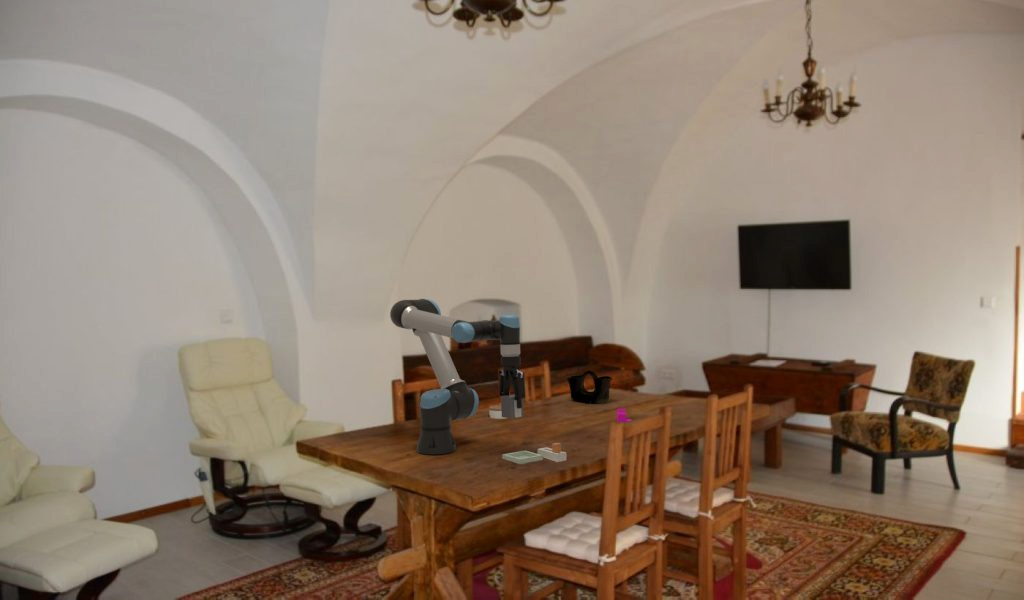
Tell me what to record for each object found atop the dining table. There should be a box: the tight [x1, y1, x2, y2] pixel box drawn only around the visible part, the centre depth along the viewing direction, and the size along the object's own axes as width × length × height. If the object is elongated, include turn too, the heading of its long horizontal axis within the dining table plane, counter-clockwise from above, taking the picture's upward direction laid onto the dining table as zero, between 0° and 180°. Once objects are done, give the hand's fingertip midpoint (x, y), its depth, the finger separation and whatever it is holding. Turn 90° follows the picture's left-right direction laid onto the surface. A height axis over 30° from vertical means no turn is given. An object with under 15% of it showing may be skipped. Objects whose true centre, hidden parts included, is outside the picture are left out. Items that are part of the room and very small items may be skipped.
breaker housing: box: [536, 447, 567, 463], centre depth 293 cm, size 4×12×3 cm, turn 36°
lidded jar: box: [488, 402, 507, 420], centre depth 369 cm, size 11×11×9 cm
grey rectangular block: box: [500, 393, 525, 420], centre depth 298 cm, size 6×6×8 cm
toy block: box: [616, 408, 633, 422], centre depth 353 cm, size 15×6×8 cm, turn 173°
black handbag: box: [566, 370, 613, 405], centre depth 405 cm, size 25×11×20 cm, turn 59°
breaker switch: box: [551, 442, 562, 453], centre depth 290 cm, size 2×2×3 cm
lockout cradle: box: [501, 450, 544, 466], centre depth 291 cm, size 11×11×2 cm
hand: (512, 415), depth 298 cm, fingers closed on grey rectangular block, 6 cm apart
